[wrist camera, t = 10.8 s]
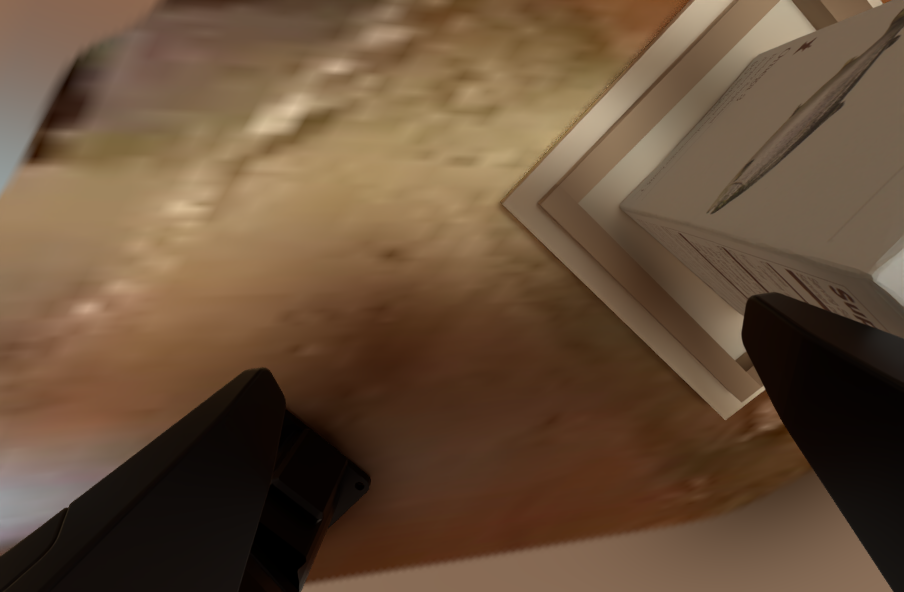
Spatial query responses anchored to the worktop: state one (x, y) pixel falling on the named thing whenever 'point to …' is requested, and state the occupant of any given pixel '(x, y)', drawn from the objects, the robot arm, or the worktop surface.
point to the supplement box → (797, 177)
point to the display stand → (635, 157)
